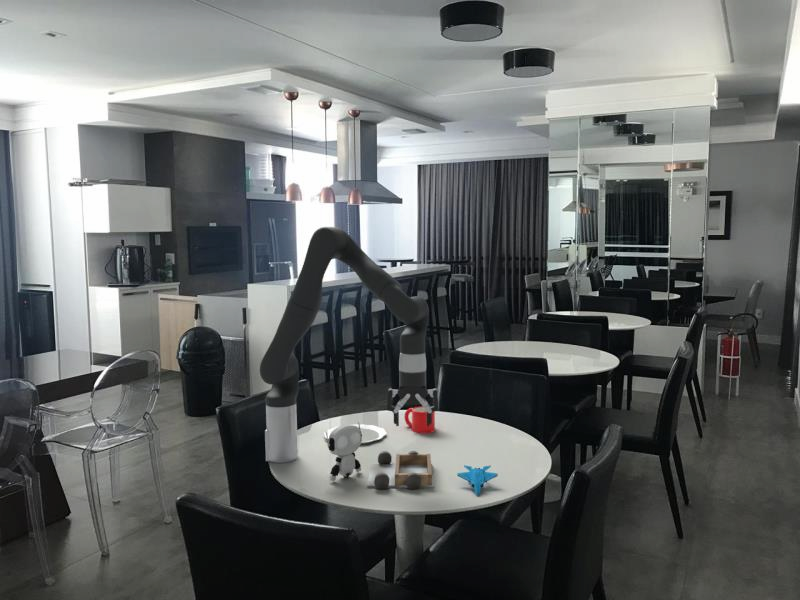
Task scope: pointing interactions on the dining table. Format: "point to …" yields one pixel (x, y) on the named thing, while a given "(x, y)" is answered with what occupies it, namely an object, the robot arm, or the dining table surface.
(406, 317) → the robot arm
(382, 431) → the plate
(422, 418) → the mug
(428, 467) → the chassis
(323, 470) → the dining table surface
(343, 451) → the robot toy
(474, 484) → the toy airplane
